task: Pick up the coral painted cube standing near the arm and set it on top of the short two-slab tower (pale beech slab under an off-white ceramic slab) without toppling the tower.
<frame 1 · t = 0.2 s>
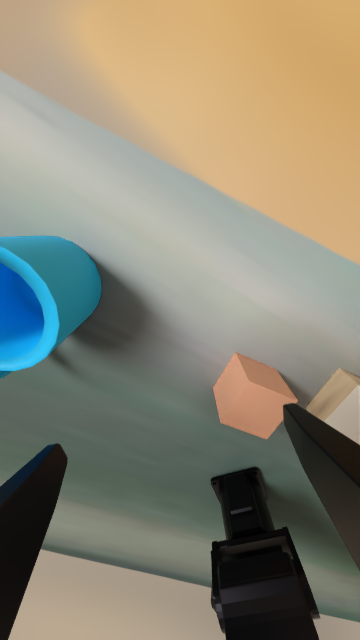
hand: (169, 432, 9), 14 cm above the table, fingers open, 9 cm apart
slab lower: (341, 396, 26), on the table, touching slab upper
mug: (51, 299, 22), on the table
coral cube: (243, 378, 25), on the table
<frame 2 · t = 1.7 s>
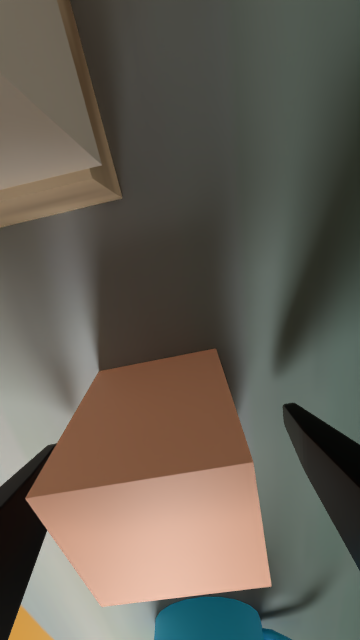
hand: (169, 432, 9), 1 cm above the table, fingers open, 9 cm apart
mug: (231, 616, 18), on the table
coral cube: (170, 405, 10), on the table
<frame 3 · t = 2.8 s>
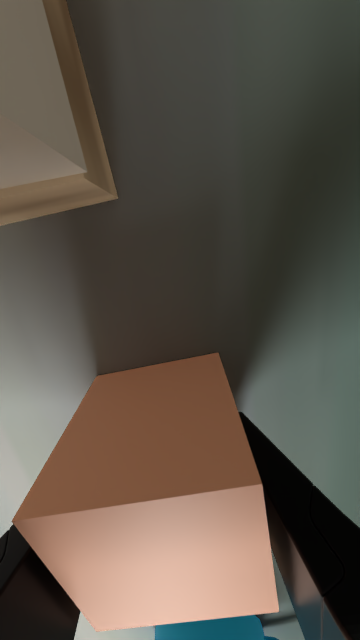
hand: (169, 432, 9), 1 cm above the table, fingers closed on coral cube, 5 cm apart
mug: (233, 623, 17), on the table
coral cube: (170, 412, 10), on the table, touching gripper
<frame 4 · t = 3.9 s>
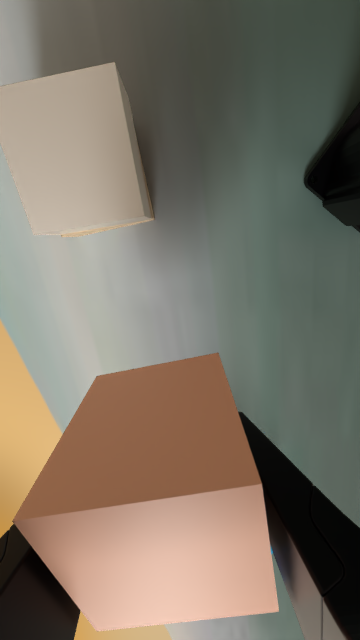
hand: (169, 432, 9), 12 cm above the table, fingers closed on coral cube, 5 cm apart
slab upper: (92, 173, 14), point 3 cm above the table, touching slab lower
slab lower: (105, 184, 16), on the table, touching slab upper
coral cube: (170, 413, 10), point 11 cm above the table, touching gripper
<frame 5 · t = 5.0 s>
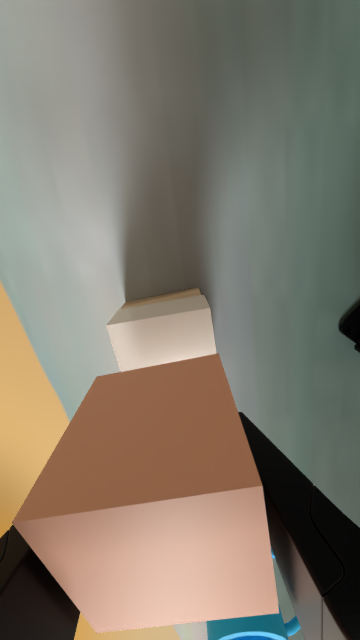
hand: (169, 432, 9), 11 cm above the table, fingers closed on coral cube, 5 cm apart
slab upper: (169, 340, 17), point 3 cm above the table, touching slab lower
slab lower: (169, 327, 20), on the table, touching slab upper
mug: (245, 542, 31), on the table
coral cube: (170, 413, 10), point 10 cm above the table, touching gripper
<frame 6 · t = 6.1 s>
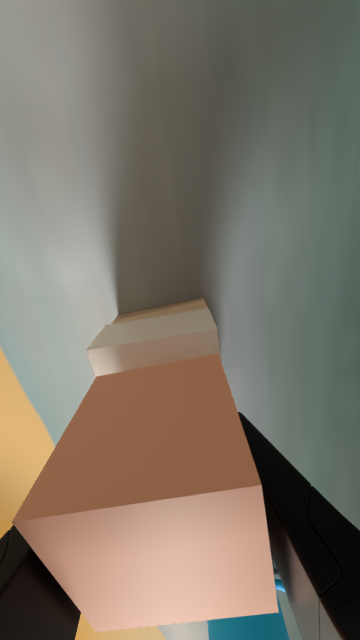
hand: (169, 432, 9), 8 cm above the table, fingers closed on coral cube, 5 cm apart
slab upper: (166, 361, 14), point 3 cm above the table, touching slab lower
slab lower: (170, 342, 17), on the table, touching slab upper
mug: (252, 573, 28), on the table
coral cube: (170, 413, 10), point 7 cm above the table, touching gripper
when the fingers open (8 cm above the table, at t = 6.2 s): coral cube drops 1 cm, point 6 cm above the table.
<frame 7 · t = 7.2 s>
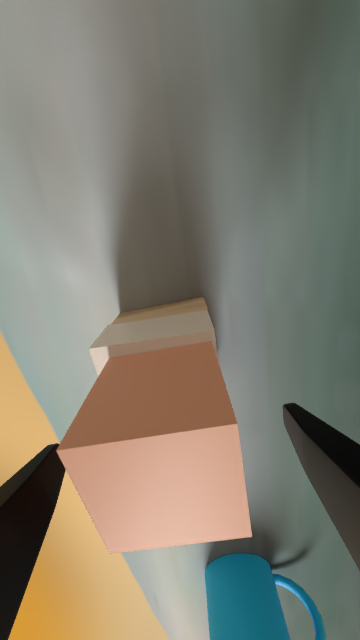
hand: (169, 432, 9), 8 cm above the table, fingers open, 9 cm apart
slab upper: (166, 361, 14), point 3 cm above the table, touching slab lower
slab lower: (170, 340, 17), on the table, touching slab upper
mug: (252, 568, 28), on the table
coral cube: (170, 392, 12), point 6 cm above the table
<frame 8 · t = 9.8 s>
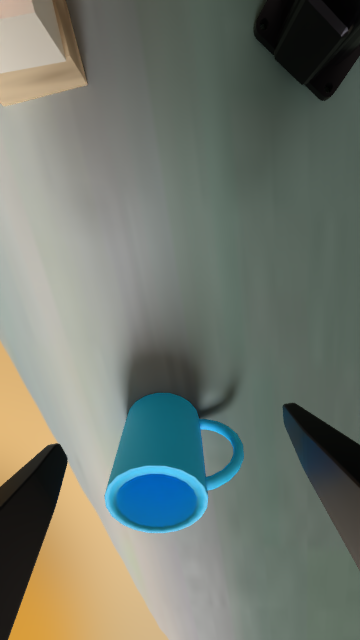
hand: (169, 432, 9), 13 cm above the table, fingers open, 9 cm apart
slab lower: (29, 40, 15), on the table, touching slab upper
mug: (180, 418, 26), on the table
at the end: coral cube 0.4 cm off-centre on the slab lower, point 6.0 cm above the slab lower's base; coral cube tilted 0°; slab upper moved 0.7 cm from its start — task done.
